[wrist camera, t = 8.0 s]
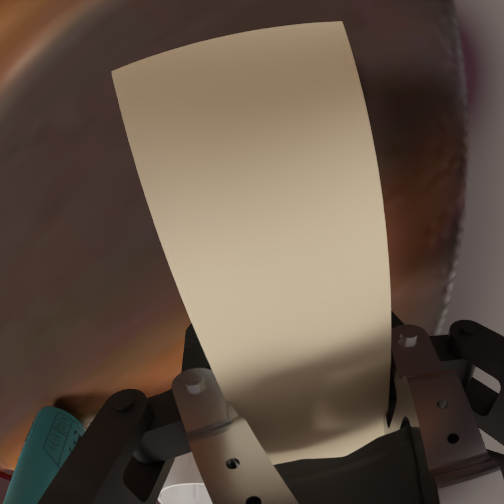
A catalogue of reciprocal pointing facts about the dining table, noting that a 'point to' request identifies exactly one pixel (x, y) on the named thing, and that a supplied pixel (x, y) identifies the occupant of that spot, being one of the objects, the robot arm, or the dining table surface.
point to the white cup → (184, 483)
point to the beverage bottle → (43, 454)
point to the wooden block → (272, 227)
